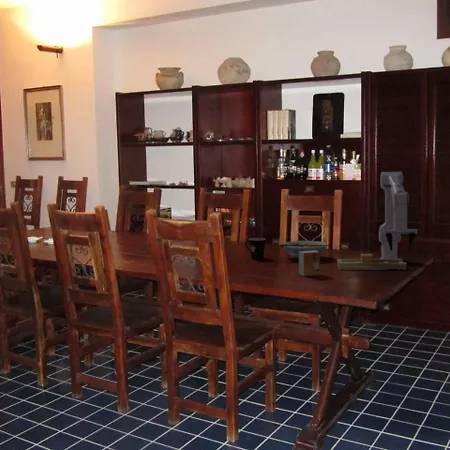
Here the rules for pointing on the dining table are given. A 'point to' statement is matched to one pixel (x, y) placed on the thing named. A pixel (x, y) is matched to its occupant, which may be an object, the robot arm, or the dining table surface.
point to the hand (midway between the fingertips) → (400, 250)
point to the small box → (309, 263)
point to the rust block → (366, 258)
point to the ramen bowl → (303, 247)
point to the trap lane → (371, 264)
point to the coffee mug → (256, 247)
